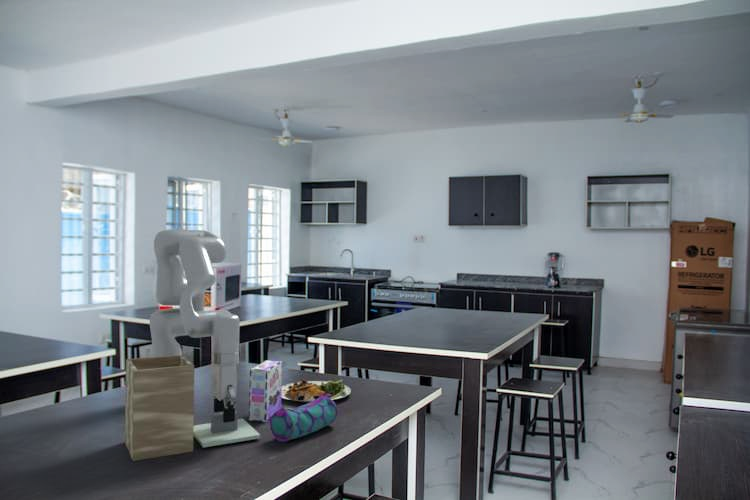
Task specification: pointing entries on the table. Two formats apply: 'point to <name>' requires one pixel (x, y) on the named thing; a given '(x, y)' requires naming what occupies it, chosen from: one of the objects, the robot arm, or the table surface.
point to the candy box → (265, 390)
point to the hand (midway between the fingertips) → (224, 416)
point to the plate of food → (314, 390)
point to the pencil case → (303, 419)
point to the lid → (223, 431)
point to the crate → (159, 406)
